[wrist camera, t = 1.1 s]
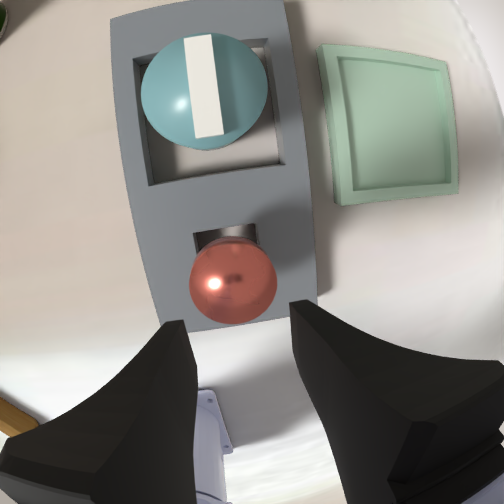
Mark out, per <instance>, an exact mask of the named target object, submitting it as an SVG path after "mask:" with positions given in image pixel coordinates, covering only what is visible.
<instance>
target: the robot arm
mask: <svg viewBox="0 0 504 504" xmlns="http://www.w3.org/2000/svg"><path fill="white" fill-rule="evenodd" d="M289 309H290V321H291V334H292V348H293V354H294V357H295V361H296V364H297V367H298V370H299V374H300V376H301V378H302V381H303V383H304V385H305V387H306V389H307V392H308V394H309V396H310V398H311V400H312V402H313V405H314V407H315V409H316V411H317V413H318V415H319V418H320V420H321V422H322V424H323V427H324V429H325V432H326V434H327V437H328V440H329V443H330V446H331V450H332V453H333V456H334V459H335V462H336V466H337V469H338V472H339V476H340V479H341V483H342V486H343V490H344V494H345V497H346V501H347V504H504V448H503V446H502V445H501V444H500V443H502V442H503V440H504V435H503V434H502V433H501V432H500V430H499V428H500V426H501V425H502V423H503V421H504V365H503V364H502V363H500V362H499V361H498V360H466V359H457V358H449V357H442V356H437V355H431V354H427V353H423V352H419V351H415V350H411V349H407V348H404V347H401V346H397V345H395V344H392V343H389V342H386V341H384V340H381V339H379V338H376V337H374V336H372V335H369V334H367V333H365V332H363V331H361V330H359V329H357V328H355V327H353V326H351V325H349V324H347V323H346V322H344V321H342V320H340V319H339V318H337V317H335V316H334V315H332V314H330V313H329V312H327V311H325V310H324V309H322V308H321V307H319V306H318V305H316V304H314V303H313V302H311V301H309V300H308V299H305V300H299V301H294V302H289ZM209 399H211V400H209ZM232 452H233V447H232V444H231V441H230V438H229V436H228V433H227V429H226V426H225V423H224V420H223V417H222V414H221V411H220V408H219V405H218V401H217V398H216V395H215V392H214V391H212V390H200V391H198V376H197V365H196V361H195V358H194V355H193V351H192V348H191V344H190V341H189V337H188V334H187V330H186V327H185V323H184V319H182V320H174V321H166V322H165V323H164V324H163V325H162V326H161V327H160V328H159V330H158V331H157V332H156V333H155V334H154V335H153V337H152V338H151V339H150V340H149V341H148V342H147V344H146V345H145V346H144V347H143V348H142V349H141V350H140V351H139V353H138V354H137V355H136V356H135V357H134V358H133V359H132V360H131V361H130V362H129V363H128V364H127V365H126V366H125V367H124V368H123V369H122V370H121V371H120V372H119V373H118V374H117V375H116V376H115V377H114V378H113V379H111V380H110V381H109V382H108V383H107V384H106V385H104V386H103V387H102V388H101V389H99V390H98V391H97V392H96V393H94V394H93V395H92V396H90V397H89V398H87V399H86V400H84V401H83V402H81V403H80V404H78V405H77V406H75V407H74V408H72V409H71V410H69V411H68V412H66V413H64V414H62V415H61V416H59V417H57V418H55V419H53V420H51V421H49V422H47V423H45V424H43V425H41V426H39V427H36V428H34V429H31V430H29V431H26V432H24V433H21V434H18V435H16V436H13V437H10V438H8V439H7V440H6V442H5V444H4V446H3V449H2V451H1V453H0V489H1V490H3V491H4V492H5V493H6V494H7V495H8V496H9V497H10V498H12V499H13V500H14V501H15V502H17V503H18V504H232V503H231V502H226V501H227V495H226V483H225V471H224V457H223V455H224V454H231V453H232Z"/></svg>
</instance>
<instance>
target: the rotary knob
mask: <svg viewBox="0 0 504 504" xmlns="http://www.w3.org/2000/svg"><path fill="white" fill-rule="evenodd" d="M267 91H268V84H267V77H266V72H265V70H264V67H263V65H262V63H261V61H260V59H259V58H258V57H257V55H256V54H255V53H254V52H253V51H252V50H251V49H250V48H249V47H248V46H247V45H245V44H244V43H242V42H241V41H239V40H237V39H235V38H233V37H230V36H227V35H224V34H219V33H196V34H191V35H188V36H185V37H182V38H179V39H177V40H175V41H173V42H172V43H170V44H168V45H167V46H166V47H164V48H163V49H162V50H161V51H160V52H159V53H158V54H157V55H156V56H155V57H154V58H153V60H152V61H151V63H150V64H149V66H148V68H147V70H146V72H145V74H144V77H143V81H142V86H141V101H142V106H143V109H144V112H145V115H146V117H147V119H148V121H149V122H150V124H151V125H152V126H153V128H154V129H155V130H156V131H157V132H158V133H160V134H161V135H162V136H163V137H165V138H166V139H168V140H170V141H171V142H174V143H176V144H178V145H182V146H186V147H189V148H193V149H197V150H206V151H209V150H216V149H220V148H223V147H225V146H227V145H229V144H231V143H232V142H234V141H235V140H236V139H237V138H239V137H240V136H241V135H243V134H244V133H245V132H246V131H247V130H249V129H250V128H251V127H252V125H253V124H254V123H255V122H256V121H257V119H258V118H259V116H260V114H261V112H262V111H263V108H264V105H265V103H266V98H267Z"/></svg>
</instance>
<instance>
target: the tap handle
mask: <svg viewBox="0 0 504 504" xmlns="http://www.w3.org/2000/svg"><path fill="white" fill-rule="evenodd" d="M37 426H39V425H38V422H37V420H36V419H34V418H33V417H31V416H29V415H28V414H26V413H24V412H23V411H21V410H19V409H18V408H16V407H15V406H13V405H12V404H10V403H9V402H7V401H6V400H4V399H3V398H1V397H0V431H2V432H3V433H5V434H6V435H8V436H9V437H13V436H16V435H18V434H21V433H24V432H26V431H29V430H31V429H34V428H36V427H37Z"/></svg>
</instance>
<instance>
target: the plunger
mask: <svg viewBox="0 0 504 504" xmlns="http://www.w3.org/2000/svg"><path fill="white" fill-rule="evenodd" d="M189 291H190V295H191V298H192V301H193V303H194V304H195V306H196V307H197V309H198V310H199V311H200V312H201V313H202V314H203V315H205V316H206V317H208V318H209V319H211V320H213V321H216V322H219V323H223V324H241V323H245V322H248V321H251V320H253V319H255V318H257V317H258V316H260V315H261V314H263V313H264V312H265V311H266V310H267V309H268V307H269V306H270V305H271V303H272V302H273V300H274V297H275V295H276V291H277V275H276V272H275V269H274V267H273V265H272V263H271V261H270V259H269V257H268V255H267V254H266V252H265V251H264V250H263V249H262V248H261V247H260V246H259V245H258V244H256V243H255V242H253V241H251V240H249V239H246V238H243V237H236V236H227V237H222V238H219V239H216V240H214V241H212V242H210V243H209V244H207V245H206V246H204V247H203V248H202V249H201V250H200V252H199V253H198V254H197V256H196V257H195V259H194V262H193V264H192V268H191V273H190V279H189Z"/></svg>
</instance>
